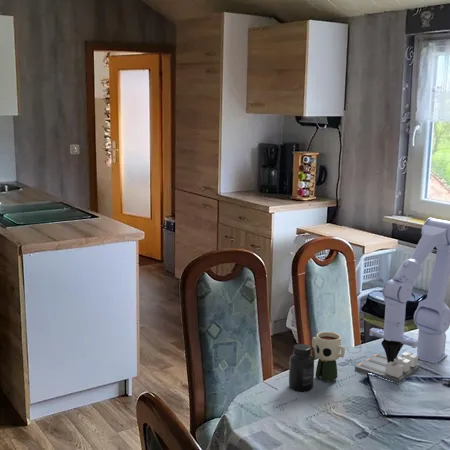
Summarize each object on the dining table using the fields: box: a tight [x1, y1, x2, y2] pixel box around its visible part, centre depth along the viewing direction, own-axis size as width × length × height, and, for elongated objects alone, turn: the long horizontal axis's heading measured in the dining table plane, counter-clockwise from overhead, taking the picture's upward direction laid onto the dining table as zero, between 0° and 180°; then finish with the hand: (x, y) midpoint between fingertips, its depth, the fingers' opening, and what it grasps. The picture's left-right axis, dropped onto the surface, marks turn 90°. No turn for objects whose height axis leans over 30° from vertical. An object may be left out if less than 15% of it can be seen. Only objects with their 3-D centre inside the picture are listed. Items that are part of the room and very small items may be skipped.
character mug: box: [311, 331, 346, 382], centre depth 177 cm, size 11×7×13 cm, turn 46°
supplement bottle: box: [288, 343, 315, 393], centre depth 171 cm, size 7×7×12 cm
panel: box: [354, 352, 421, 385], centre depth 184 cm, size 14×14×1 cm
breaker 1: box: [385, 361, 403, 378], centre depth 177 cm, size 3×4×3 cm, turn 48°
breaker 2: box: [401, 351, 419, 367], centre depth 185 cm, size 3×4×3 cm, turn 48°
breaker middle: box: [394, 356, 411, 372], centre depth 181 cm, size 3×4×3 cm, turn 48°
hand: (391, 363), depth 183 cm, fingers closed
